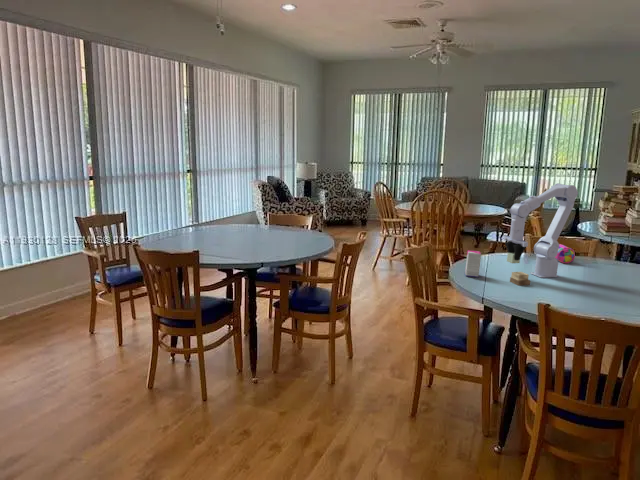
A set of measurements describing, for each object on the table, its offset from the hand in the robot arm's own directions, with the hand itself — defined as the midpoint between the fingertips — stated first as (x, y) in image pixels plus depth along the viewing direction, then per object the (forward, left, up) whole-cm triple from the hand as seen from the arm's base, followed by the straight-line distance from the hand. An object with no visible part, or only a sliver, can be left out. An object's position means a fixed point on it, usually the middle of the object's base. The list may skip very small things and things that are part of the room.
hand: (513, 258), depth 228 cm
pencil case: (-50, -29, -9) cm, 58 cm away
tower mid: (+3, +9, -7) cm, 12 cm away
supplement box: (+18, -6, -9) cm, 21 cm away
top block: (0, 0, -2) cm, 2 cm away
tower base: (+2, +9, -9) cm, 13 cm away
